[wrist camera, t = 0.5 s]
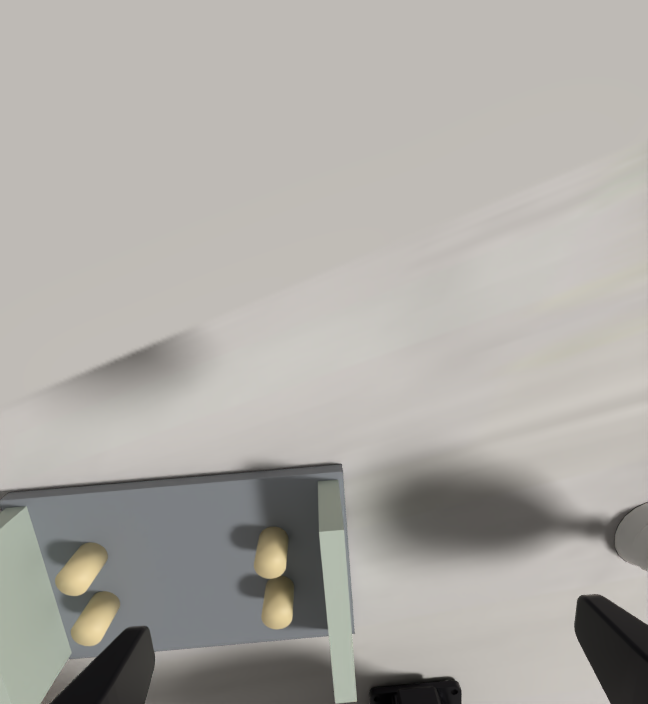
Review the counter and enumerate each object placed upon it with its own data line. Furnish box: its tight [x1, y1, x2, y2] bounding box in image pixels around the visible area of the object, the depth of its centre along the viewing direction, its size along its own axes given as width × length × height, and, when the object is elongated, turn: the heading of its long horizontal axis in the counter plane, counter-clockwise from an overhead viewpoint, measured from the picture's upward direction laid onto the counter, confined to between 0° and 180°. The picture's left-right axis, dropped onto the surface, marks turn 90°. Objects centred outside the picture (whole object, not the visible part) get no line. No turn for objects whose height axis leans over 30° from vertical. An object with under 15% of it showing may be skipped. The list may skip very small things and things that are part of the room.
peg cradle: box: [0, 464, 357, 704], centre depth 21 cm, size 12×20×5 cm, turn 94°
